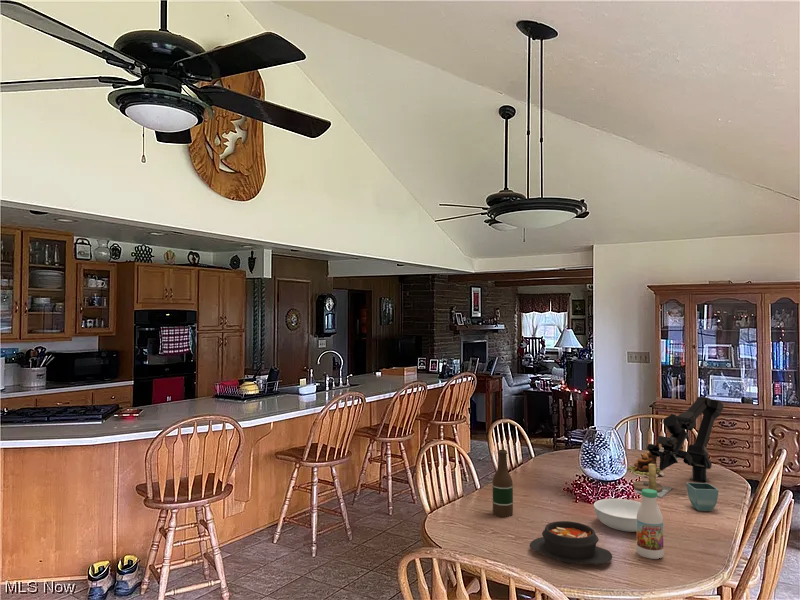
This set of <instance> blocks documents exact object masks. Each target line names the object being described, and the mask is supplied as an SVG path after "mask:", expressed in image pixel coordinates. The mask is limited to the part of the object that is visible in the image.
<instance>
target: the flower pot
mask: <svg viewBox="0 0 800 600" xmlns="http://www.w3.org/2000/svg"><path fill="white" fill-rule="evenodd" d="M686 491H687V497H688V499H689V502H690V503H691V506H692V507H693V508H694V509H696V510H697V511H699V512H700V511H703V512H712V511H714V508H716V505H717V503H718V497H719V489H718V488H717V487H715V486H714V485H712V484H711V483H707V482H706V483H704V482H686Z"/></svg>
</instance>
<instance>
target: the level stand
mask: <svg viewBox="0 0 800 600" xmlns="http://www.w3.org/2000/svg"><path fill="white" fill-rule="evenodd" d="M671 489H672V490H673V487H670V486H664V485H662V491H660V492H657V498H658V497H659V499H663V498H664V497H665V496H666V495H668V494H669V493H670V492H671V491H672V490H671ZM670 490H671V491H670ZM635 491H636V492H637V493H639V494H638V495H642V491H640V490H637V489H635ZM637 493H636V494H637ZM663 496H664V497H663Z"/></svg>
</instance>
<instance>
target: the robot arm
mask: <svg viewBox="0 0 800 600" xmlns="http://www.w3.org/2000/svg"><path fill="white" fill-rule="evenodd" d="M695 399H696V400H695V401H694V402H693V404H692V405H691V406H690V407H689V408H688V409H687V410H686V411H685V412H681V413H679V414H678V415H676V414H675V413H671V414H670V415H669V416H666V417H665V418H664V419H663V420H662V424H663V426H664V427H665V428H666V430H667V431H668V433H669V434H670V435H669V437H667V436H663V435H658V438H657V440H656V443H657V444H659V445H660V446H658V445H657V444H654V443H648V444H647V446H646V450H647V452H648V451H649V452H650V453H651V455H653V456H656V457H657V458H659V467H658V468H659V469H660V470H663V471H664V470H665V469H666V468H669V467H671V466H672V465H674V464H678V463H679V461H678V460H679V459H683V460H682V462H683V463H684V464H685V465H687V466H690V467H691V470H692V471H691V472H692V473H691V475H692V476H691V478H690V479H689V480H690V481H692V482H693V481H694V482H697V483H707V482H708V481H710V480H709V479H710V478H707V470H711V468H712V461H711V460H710V458H709V452H708V451H709V450H708V449H707V446H708V443H709V439H710V437H711V433H712V430H713V425H714V423H715V420H716V419H717V418H718V417H720V416H721V413H722V411H723V410H724V403H722V401H721V400H719V399H712V398H710V397H707V396H697V397H696V398H695ZM701 414H702V418H701V421H700V425H699V427H698V431H697V435H696V438H695V441H694V443H693V444H689V445H688V447H687V451H686V450H683V449H684V447H683V445H684V442H685V441H686V440H689V439H690V436H689V433H688V432H687V431H693V430H694V428H695V426H696V425H697V423H696V421H697V419H698V418H699V417H700V415H701Z"/></svg>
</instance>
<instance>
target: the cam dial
mask: <svg viewBox="0 0 800 600" xmlns="http://www.w3.org/2000/svg"><path fill="white" fill-rule="evenodd" d="M656 465H657V464H656ZM656 465H655V464H649V478H648V480H647V481H646V480H637V481H636V480H634V481H635V482H633V481H632V482H633V486H634V489H637V490H640V491H642V489H653V490H656V491H657V492H660V491H662V486H663V485H662V484H661V483H657V477H656Z"/></svg>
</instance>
